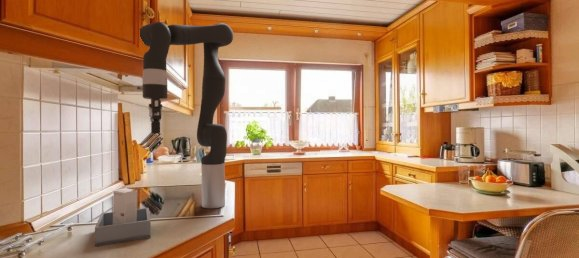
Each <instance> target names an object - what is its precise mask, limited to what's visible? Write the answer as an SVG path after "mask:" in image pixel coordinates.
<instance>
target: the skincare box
mask: <svg viewBox="0 0 579 258" xmlns="http://www.w3.org/2000/svg"><path fill="white" fill-rule="evenodd" d="M112 200H113V203H112V205H113V206H112V212H113V225H115V224H122V223H130V222H137V209H138V190H137V189H133V188H126V187H124V188H121V189H120V188H119V189H115V190H113V197H112Z"/></svg>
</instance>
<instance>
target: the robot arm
mask: <svg viewBox="0 0 579 258" xmlns="http://www.w3.org/2000/svg"><path fill="white" fill-rule="evenodd" d="M139 30H140V37H141V39H142V41H143V42H144V44H145V45H144V44H143V45H144V46H146V47H149V49H148V50H147V51H146V52H144V54H143V59H142V70H143V71H142V81H141V83H142V98H143V99H146V100H150V103H148V110H149V114H148V115H149V117H150V118H149V121H150V124H151V125H150V131H151V133H152V134H160V133H161V121H162V116H163V115H162V112H163V111H162V110H163V104H162V101H161V100H167V99H168V75H167V57H168V55H169V50H170V46H189V45H198V44H203V70H202V73H203V74H202V83H201V85H202V86H201V101H200V110H199V118H198V123H197V128H196V129H197V130H196V140H197V143H198V144H199V145H200V146H201V147H205V148H206V147H209V148H210V149H209V150H210V151H209V153H207V154H206V155H203V156H202V157H201V160H200V161H201V166H200V167H201V168H200V169H201V207H202V208H204V209H218V208H219V209H220V208H221V207H225V206H226V179H225V178H226V176H225V175H226V167H225V166H226V158H227V157H226V156H227V146H228V145H227V144H228V143H227V142H228V133H227V129H226V127H225V126H224V125H223V124H221V123H214V117H215V113H216V110H217V108H218V106H219V105H220V104H221V102H222V100H223V98H224V97H225V96H224V95H225V93H226V75H225V73H224V71H223V68H222V67H221V64H220V62H219V48H222V47H226V46H229V45H230V44H232V42H233V41H234V31H233V29H232V28H231V27H230V25H228V24H226V23H224V22H222V23H215V24H211V25H189V24H169V25H167V24H166V23H164V22H162V21H156V22H152V23H148V24H144V25H142V26H141V27H140V28H139Z"/></svg>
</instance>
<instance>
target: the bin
mask: <svg viewBox="0 0 579 258" xmlns="http://www.w3.org/2000/svg"><path fill="white" fill-rule="evenodd" d="M151 224H152V223H151V214H150V208H149V207H142V208H137V222H130V223H122V224H115V225H113V211H111V212H110V211H108V212H101V213H100V215H99V217H98V220H97V222H96V224H95V226H94V247H100V246H106V245H112V244H120V243H125V242H131V241H137V240H138V241H139V240H143V239H150V238H152V237H151V233H152V231H151V230H152V229H151Z"/></svg>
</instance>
